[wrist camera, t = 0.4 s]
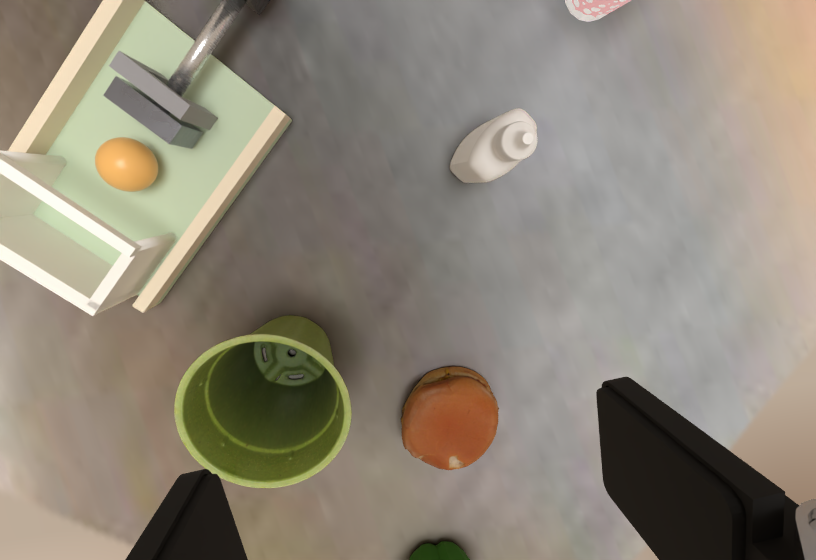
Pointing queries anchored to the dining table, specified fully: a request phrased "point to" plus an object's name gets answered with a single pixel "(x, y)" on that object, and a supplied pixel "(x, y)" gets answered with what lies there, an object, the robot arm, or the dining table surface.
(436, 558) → the bell pepper
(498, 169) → the eye dropper bottle
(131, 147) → the ball
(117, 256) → the pitch
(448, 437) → the burger
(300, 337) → the plant pot
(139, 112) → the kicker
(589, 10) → the beverage cup
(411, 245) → the dining table surface
